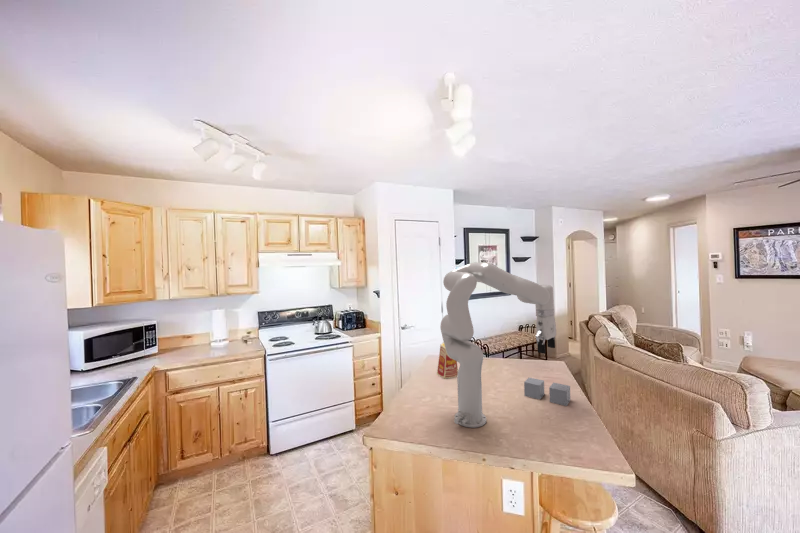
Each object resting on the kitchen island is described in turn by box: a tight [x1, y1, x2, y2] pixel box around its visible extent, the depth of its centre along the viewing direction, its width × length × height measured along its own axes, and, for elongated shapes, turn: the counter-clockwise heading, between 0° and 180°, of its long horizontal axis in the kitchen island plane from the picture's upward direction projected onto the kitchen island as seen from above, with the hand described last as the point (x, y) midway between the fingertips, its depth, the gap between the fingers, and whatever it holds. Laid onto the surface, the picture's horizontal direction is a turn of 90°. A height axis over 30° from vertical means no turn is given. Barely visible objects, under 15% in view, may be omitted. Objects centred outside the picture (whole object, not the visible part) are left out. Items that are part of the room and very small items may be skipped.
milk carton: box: [436, 341, 459, 380], centre depth 178 cm, size 9×9×20 cm
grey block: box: [548, 382, 571, 407], centre depth 143 cm, size 7×7×6 cm
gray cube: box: [523, 377, 545, 400], centre depth 150 cm, size 7×7×6 cm
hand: (546, 350), depth 144 cm, fingers open, 9 cm apart
